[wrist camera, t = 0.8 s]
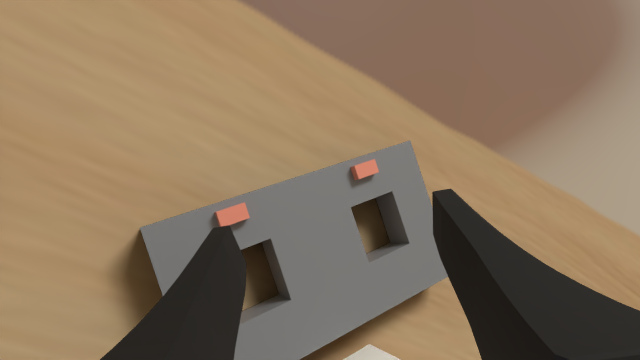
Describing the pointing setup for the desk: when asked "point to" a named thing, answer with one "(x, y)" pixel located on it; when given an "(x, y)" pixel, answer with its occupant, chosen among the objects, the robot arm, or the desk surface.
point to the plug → (370, 354)
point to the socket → (316, 250)
